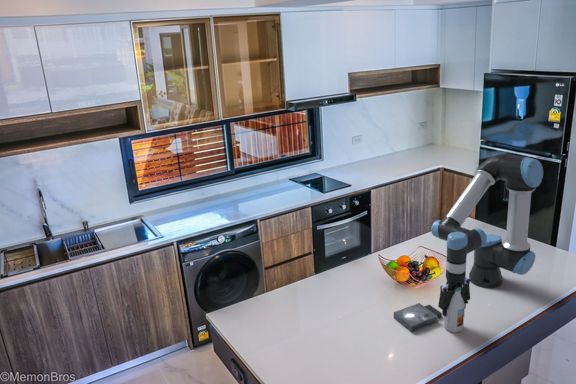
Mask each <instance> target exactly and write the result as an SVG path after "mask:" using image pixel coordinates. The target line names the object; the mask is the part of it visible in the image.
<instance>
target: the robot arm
mask: <svg viewBox="0 0 576 384" xmlns="http://www.w3.org/2000/svg"><path fill="white" fill-rule="evenodd" d="M473 174H474V176H473V178H472V179H471V180H470V181H469V183H468V185H467V186H466V188H465V189H464V190H463V192H462V193H461V195H460V196H459V197H458V198H457V200H456V202H455V203H454V204H453V205H452V207H451V208H450V210H449V212H447V214H446V215H445V217H444V218H443V220H441V219H436V220H435V221H434V222H433V223H432V225H431V228H430V231H431V234H432V236H433V237H436V238H438V239H439V240H442V241H446V261H445V263H446V264H445V265H446V266H445V279H446V283H445V285H440V287H439V289H440V291H439V292H440V293H439V294H440V295H439V299H438V308H439V309H441V313H442V321H443V323H444V322H446V323H447V324H448V323H449V310H450V309H448V307H449V304H450V302H451V299H452V296H453V295H454V294H455V290H456V289H457V286H460V287H461V292H460V293H461V296H462V298H463V301H464V315H465V310H466V306H467V304H469V301H470V300H471V292H470V291H471V290H470V289H471V288H470V284H473V285H475V286H477V287H481V288H486V289H487V288H489V289H490V288H491V289H492V288H497V287H500V286H502V284H503V275H502V271H501V269H503V270H506V271H508V272H512V273H513V274H517V275H520V276H522V275H523V276H524V275H525V274H527V273H528V272H529V271H531V268H532V267H533V265H534V264H535V262H536V253H535V252H534V251H532V250H531V243H529V242H528V235H529V234H528V233H529V226H530V225H529V224H530V212H531V199H532V193H533V192H534V191H535V190H536V188H537V187H539V186H540V185H541V184H542V180H543V177H544V167H543V165H542V163H541V162H540V161H539V160H538V159H536V158H531V157H528V156H527V157H526V156H521V155H515V154H510V153H496V154H495V155H493V156H490V157H488V158H487V159H485V161H483V162H482V163H481V164H480V165H479V166H478V167H476V169H475V170H474V173H473ZM499 180H501V181H503V182H505V188H506V189H507V190H508V191H509V192H508V205H507V206H508V207H507V218H506V219H507V221H506V222H507V223H506V235H505V239H504V240H503V238H502V237H501V236H500V235H499V234H494V233H493V234H492V233H486V232H485V231H484V230H483V229H481V228H473V229H471V230H470V229H468V228H465V227H462V225H464V223H465V222H466V220H467V219H468V217H469V216H470V214H471V212H473V210H474V208H475V207H476V206H477V204H478V203H479V202H480V201H481V199H482V197H483V196H484V195H485V193H486V191H487V190H488V189H489V187H491V186H493V185H495V183H496V182H498V181H499ZM471 252H473V264H472V267H471V269H470V271H469V274H468V277H466V276H467V274H466V270H467V256H468V254H469V253H471ZM451 291H452V292H451Z"/></svg>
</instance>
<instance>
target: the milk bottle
mask: <svg viewBox="0 0 576 384" xmlns="http://www.w3.org/2000/svg"><path fill="white" fill-rule="evenodd" d="M451 292H452V291H451ZM460 292H461V287H460V286H457V289H456V290H455V294H454V295H453V296H452V299H451V302H450V304H449V307H448V309H450V310H449V323H448V324H447V323H446V322H444V321H443V327H444V329H445V330H446V331H448V332H451V333H459V332H461V331H462V330H463V329H464V319H465V314H464V301H463V298H462V296H461V293H460Z"/></svg>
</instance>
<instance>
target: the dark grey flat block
mask: <svg viewBox="0 0 576 384" xmlns="http://www.w3.org/2000/svg"><path fill="white" fill-rule="evenodd" d="M440 318H443V315H442V311H440V310H438V309H437V308H435V307H434V306H432V305H431V304H427V305H423V304H421V303H420V302H418V303H415V304H413V305H409V306H407V307H404V308H401V309H399V310H396V311H394V312H393V319H394V320H395V321H397V322H398V324H400V325H401V326H403V327H404V328H405V329H406V330H408V331H409V332H410V333H413V332H416V331H419V330H421V329H424V328H426V327H429V326H431V325H434V324H437V323H438V322H439V319H440Z"/></svg>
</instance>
